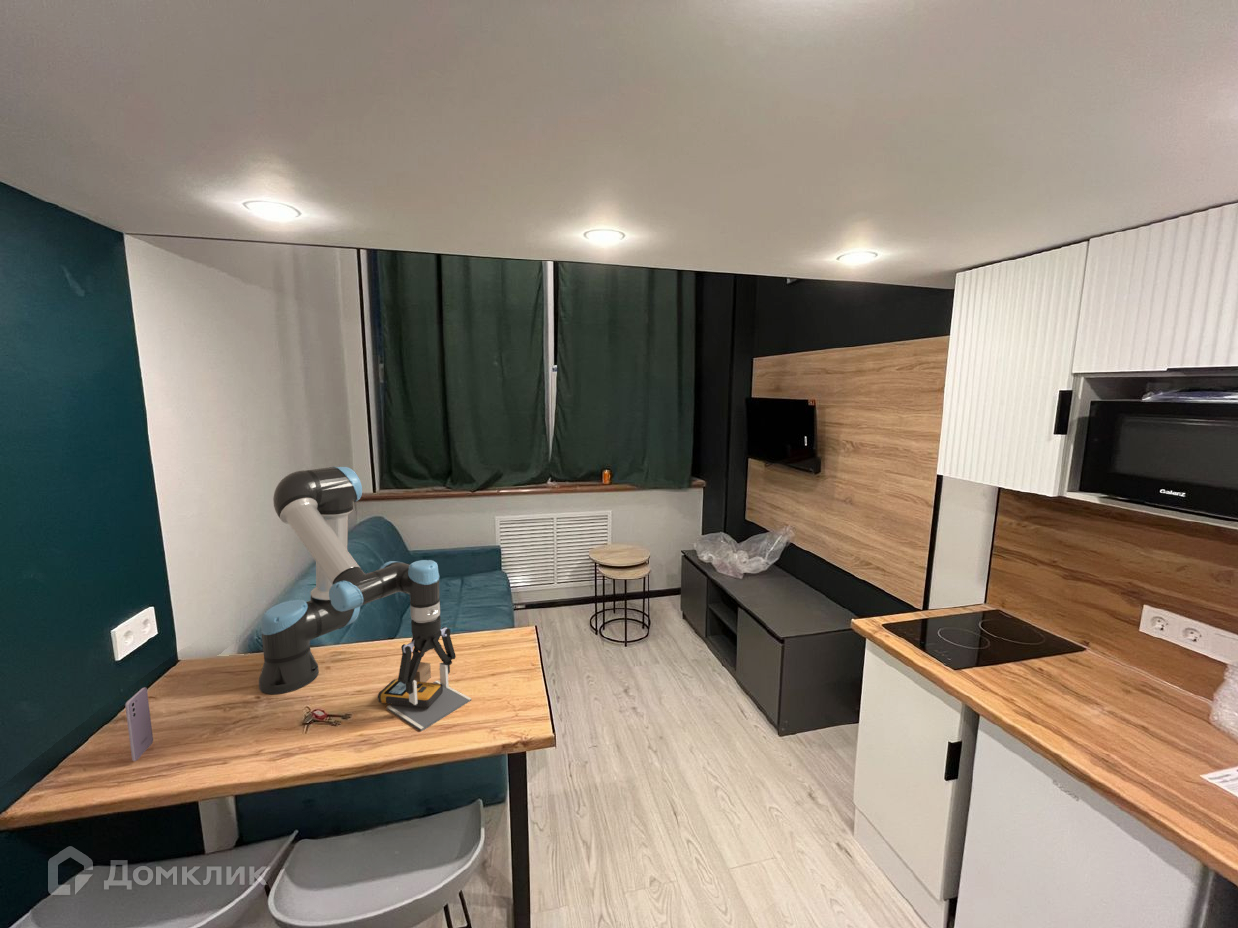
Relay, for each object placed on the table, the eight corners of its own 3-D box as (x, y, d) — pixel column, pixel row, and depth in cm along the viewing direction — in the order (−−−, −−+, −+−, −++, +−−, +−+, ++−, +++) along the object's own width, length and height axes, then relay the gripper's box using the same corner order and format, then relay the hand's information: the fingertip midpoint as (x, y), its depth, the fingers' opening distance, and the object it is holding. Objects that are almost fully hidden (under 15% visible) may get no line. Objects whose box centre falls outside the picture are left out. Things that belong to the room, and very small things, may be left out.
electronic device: (428, 711, 133) (427, 699, 133) (377, 704, 136) (376, 693, 136) (444, 692, 141) (444, 681, 141) (396, 686, 144) (395, 676, 144)
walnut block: (406, 685, 147) (405, 669, 146) (416, 676, 152) (416, 661, 151) (420, 687, 146) (419, 671, 145) (430, 678, 151) (430, 663, 150)
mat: (386, 709, 135) (386, 706, 135) (437, 682, 148) (437, 680, 148) (421, 731, 126) (421, 728, 126) (471, 700, 139) (471, 698, 139)
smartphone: (150, 742, 122) (143, 686, 120) (154, 741, 122) (147, 685, 120) (131, 762, 115) (124, 703, 113) (136, 762, 115) (128, 702, 113)
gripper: (396, 636, 123) (400, 719, 126) (467, 607, 141) (469, 680, 144) (379, 628, 127) (384, 708, 130) (451, 601, 145) (453, 672, 148)
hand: (429, 693), depth 137 cm, fingers closed on electronic device, 9 cm apart
